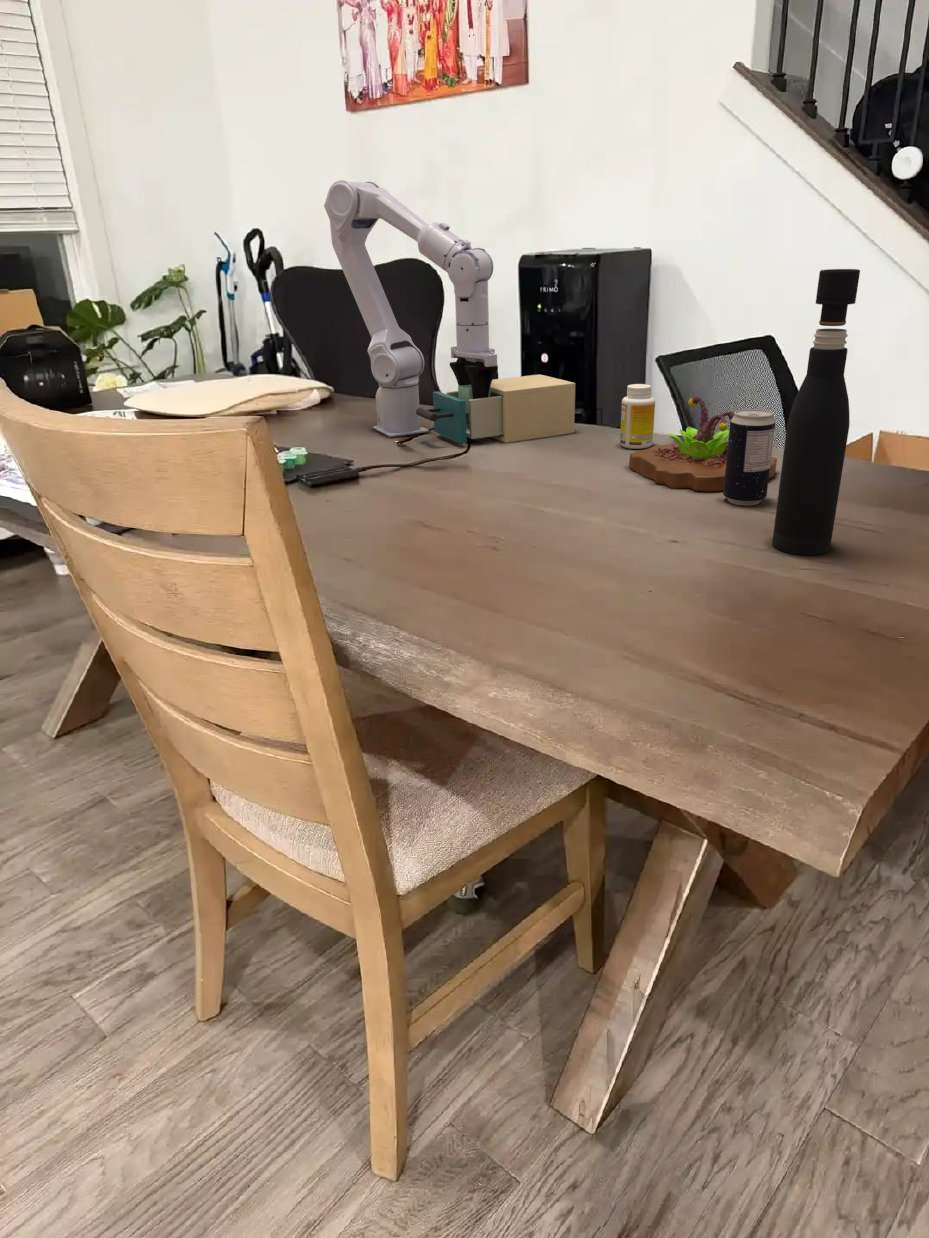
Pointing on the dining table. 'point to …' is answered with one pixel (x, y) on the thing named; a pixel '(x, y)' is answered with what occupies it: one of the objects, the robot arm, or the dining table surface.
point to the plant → (691, 456)
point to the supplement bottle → (637, 417)
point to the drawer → (465, 416)
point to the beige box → (535, 407)
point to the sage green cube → (467, 394)
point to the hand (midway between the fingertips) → (474, 403)
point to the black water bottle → (817, 429)
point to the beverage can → (749, 456)
